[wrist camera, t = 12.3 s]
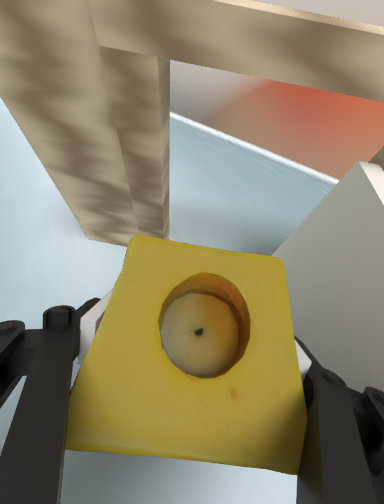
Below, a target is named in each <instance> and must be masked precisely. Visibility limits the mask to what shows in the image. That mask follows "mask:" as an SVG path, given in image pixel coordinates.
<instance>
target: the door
mask: <svg viewBox="0 0 384 504" xmlns="http://www.w3.org/2000/svg"><path fill="white" fill-rule="evenodd" d="M271 256H273V257H277V258H280V259H281V260H282V261H283V263H284V266H285V273H286V280H287V287H288V294H289V299H290V307H291V318H292V325H293V332H294V335H295V336H296V337H297V338H299V339H300V340H301V341H302V342H303V343H304V344H305V346H306V347H307V348H308V349H309V351H310V353H312V354H313V356H314V357H315V358H316V360H317V361H318V362H319V363H320V365H321V366H322V367H323V368H325V369H328V370H330V371H332V372H333V373H335V374H337V375H338V376H339V377H340V378H341V379H342V380H343V381H344V382H345V383H346V385H347V387H349V388H351V389H353V390H356V391H358V392H361V393H363V392H364V390H365V388H366V387H373V388H376V389H378V390H381V391H383V392H384V171H383V170H382V168H381V167H380V165H377V164H372V163H367V162H361V161H358V162H357V163H356V164H355V165H354V166H353V167H352V168H351V169H350V171H348V173H347V174H346V175H345V176H344V177H343V178H342V179H341V180H340V181H339V182H338V183H337V185H336V186H335V187H334V188H333V189H332V190H331V191H330V192H329V193H328V194H327V195H326V196H325V198H324V199H323V200H322V201H321V202H320V203H319V204H318V205H317V206H316V207H315V208H314V210H313V211H312V212H311V213H310V214H309V215H308V216H307V217H306V218H305V219H304V220H303V221H302V223H301V224H300V225H299V226H298V227H297V228H296V229H295V230H294V231H293V232H292V233H291V235H290V236H289V237H288V238H287V239H286V240H285V241H284V242H283V243H282V244H281V245H280V246H279V248H278V249H277V250H276V251H275V252H274V253H273V254H272V255H271Z"/></svg>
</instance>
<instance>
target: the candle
mask: <svg viewBox="0 0 384 504" xmlns="http://www.w3.org/2000/svg"><path fill="white" fill-rule="evenodd" d="M307 421H308V414H307V408H306V402H305V396H304V391H303V385H302V380H301V375H300V370H299V363H298V357H297V351H296V345H295V339H294V332H293V325H292V318H291V307H290V299H289V294H288V287H287V280H286V273H285V266H284V263H283V261H282V260H281V259H280V258H277V257H273V256H268V255H261V254H252V253H241V252H233V251H227V250H221V249H215V248H209V247H203V246H197V245H191V244H185V243H180V242H175V241H171V240H166V239H161V238H156V237H151V236H146V235H140V234H136V235H134V236H133V237H132V238H131V239H130V241H129V244H128V248H127V251H126V255H125V260H124V264H123V269H122V271H121V273H120V275H119V277H118V279H117V282H116V284H115V286H114V289H113V292H112V294H111V297H110V300H109V302H108V305H107V307H106V310H105V311H104V312H103V313H102V320H101V322H100V325H99V327H98V330H97V332H96V334H95V336H94V339H93V341H92V343H91V345H90V348H89V350H88V352H87V354H86V357H85V359H84V361H83V363H82V366H81V368H80V370H79V372H78V374H77V377H76V379H75V381H74V384H73V386H72V388H71V391H70V393H69V405H68V418H67V431H66V443H65V449H69V450H75V451H95V452H108V453H117V454H127V455H138V456H159V457H168V458H177V459H186V460H195V461H203V462H211V463H219V464H227V465H235V466H243V467H252V468H260V469H268V470H272V471H277V472H281V473H285V474H290V475H298V471H299V466H300V460H301V455H302V449H303V443H304V438H305V432H306V427H307Z"/></svg>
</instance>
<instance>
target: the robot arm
mask: <svg viewBox="0 0 384 504" xmlns="http://www.w3.org/2000/svg"><path fill="white" fill-rule="evenodd" d="M113 289H114V288H113ZM113 289H112V290H111V291H110V292H109V293H108V294H107V295H106V296H105V297H103V298H102V299H99V298H93V299H91V300H88V301H87V302H86V303H84V304H83V305H82V306H81V307H79V308H78V309H77V310H75V308H73V307H72V306H67V305H61V306H55V307H52V308H49V309H48V310H46V311H45V312H44V313H43V329H27V330H25V324H24V322H22V321H17V320H12V321H4V322H1V323H0V408H1V407H2V406H3V404H4V403H5V401H6V400H7V398H8V397H9V395H10V394H11V392H12V391H13V389H14V388H15V387H16V385H17V384H18V382H19V381H20V379H21V378H22V376H26V375H27V378H26V381H25V384H24V387H23V390H22V393H21V396H20V399H19V402H18V405H17V408H16V411H15V414H14V417H13V420H12V423H11V426H10V429H9V432H8V435H7V438H6V441H5V444H4V447H3V450H2V453H1V456H0V504H60V497H61V486H62V475H63V464H64V453H65V443H66V431H67V418H68V405H69V393H70V389H71V378H72V367H73V361H74V360H75V358H76V357H77V356H78V364H81V365H82V363H83V361H84V359H85V357H86V354H87V352H88V350H89V348H90V345H91V343H92V341H93V339H94V336H95V334H96V332H97V330H98V327H99V325H100V322H101V320H102V313H103V312H104V311H105V310H106V307H107V305H108V302H109V300H110V297H111V294H112V292H113ZM294 339H295V345H296V351H297V357H298V363H299V370H300V375H301V380H302V385H303V391H304V396H305V402H306V408H307V414H308V421H307V427H306V432H305V438H304V443H303V449H302V455H301V460H300V466H299V471H298V475H297V498H296V504H384V392H383V391H381V390H378V389H376V388H373V387H366V388H365V390H364V392H363V393H361V392H358V391H356V390H353V389H351V388H349V387H347V385H346V383H345V382H344V381H343V380H342V379H341V378H340V377H339V376H338V375H337V374H335V373H333V372H332V371H330V370H328V369H325V368H323V367H322V366H321V365H320V363H319V362H318V361H317V360H316V358H315V357H314V356H313V354H312V353H310V351H309V349H308V348H307V347H306V346H305V344H304V343H303V342H302V341H301V340H300V339H299V338H297V337H296V336H295V335H294Z"/></svg>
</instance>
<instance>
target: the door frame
mask: <svg viewBox="0 0 384 504" xmlns="http://www.w3.org/2000/svg"><path fill="white" fill-rule="evenodd" d="M170 60H175V61H180V62H185V63H190V64H195V65H200V66H205V67H210V68H216V69H221V70H225V71H230V72H235V73H240V74H246V75H250V76H255V77H261V78H266V79H271V80H276V81H281V82H286V83H291V84H296V85H301V86H306V87H311V88H316V89H321V90H326V91H331V92H336V93H341V94H346V95H352V96H356V97H362V98H366V99H372V100H376V101H382V102H384V27H380V26H375V25H369V24H365V23H360V22H355V21H350V20H345V19H340V18H335V17H330V16H325V15H320V14H315V13H311V12H306V11H301V10H296V9H290V8H286V7H281V6H276V5H271V4H266V3H261V2H256V1H251V0H0V97H1V98H2V100H3V102H4V103H5V105H6V107H7V108H8V110H9V111H10V113H11V115H12V116H13V118H14V119H15V121H16V123H17V124H18V126H19V127H20V129H21V131H22V132H23V134H24V135H25V137H26V139H27V140H28V142H29V144H30V145H31V147H32V148H33V150H34V152H35V153H36V155H37V156H38V158H39V160H40V161H41V163H42V164H43V166H44V168H45V169H46V171H47V172H48V174H49V176H50V177H51V179H52V181H53V182H54V184H55V185H56V187H57V189H58V190H59V192H60V193H61V195H62V197H63V198H64V200H65V201H66V203H67V205H68V206H69V208H70V210H71V211H72V213H73V214H74V216H75V218H76V219H77V221H78V222H79V224H80V226H81V227H82V229H83V230H84V232H85V234H86V235H87V237H88V238H89V239H90V240H96V241H101V242H106V243H112V244H117V245H122V246H127V247H128V244H129V241H130V239H131V238H132V237H133V236H134V235H136V234H140V235H146V236H151V237H156V238H161V239H166V240H169V130H170ZM368 163H372V164H377V165H380V167H381V168H382V170H383V171H384V146H383V148H382V149H381V150H380V151H379V152H378V153H377V154H376V155H375V156H374V157H373V158H372V159H371V160H370V161H369V162H368Z"/></svg>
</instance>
